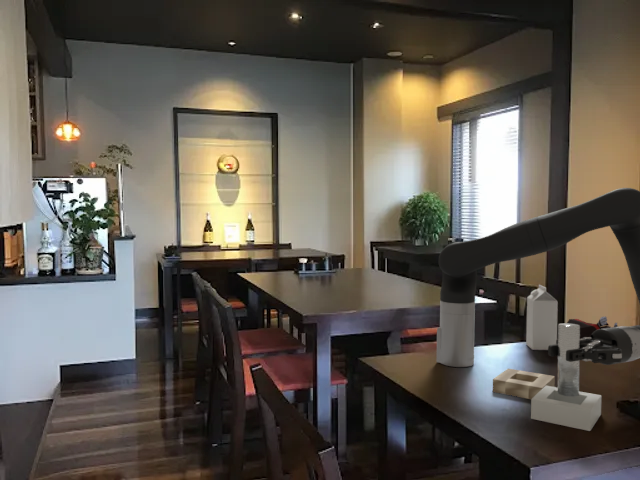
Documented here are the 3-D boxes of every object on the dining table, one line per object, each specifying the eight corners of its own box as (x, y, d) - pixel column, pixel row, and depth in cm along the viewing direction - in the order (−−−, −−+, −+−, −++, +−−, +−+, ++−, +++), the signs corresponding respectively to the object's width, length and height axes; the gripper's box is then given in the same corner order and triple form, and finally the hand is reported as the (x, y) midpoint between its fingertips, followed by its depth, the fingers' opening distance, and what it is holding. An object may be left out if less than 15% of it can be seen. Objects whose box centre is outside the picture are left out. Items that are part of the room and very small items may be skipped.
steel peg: (555, 394, 115) (556, 325, 114) (560, 389, 118) (561, 322, 118) (576, 397, 113) (577, 328, 112) (580, 392, 116) (581, 324, 115)
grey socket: (530, 418, 115) (531, 399, 114) (545, 403, 124) (545, 385, 123) (590, 431, 108) (590, 410, 108) (600, 414, 117) (601, 395, 117)
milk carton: (549, 345, 177) (550, 284, 176) (556, 350, 170) (558, 287, 169) (526, 344, 178) (527, 284, 177) (532, 350, 171) (533, 287, 169)
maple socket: (492, 391, 131) (492, 379, 131) (507, 380, 140) (508, 368, 140) (541, 401, 125) (542, 388, 125) (554, 388, 134) (554, 376, 134)
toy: (616, 307, 172) (562, 308, 177) (620, 332, 165) (563, 332, 171) (615, 332, 179) (564, 332, 185) (619, 357, 172) (565, 356, 178)
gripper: (590, 321, 127) (532, 328, 120) (649, 333, 114) (588, 342, 107) (589, 354, 128) (531, 363, 121) (648, 370, 115) (587, 381, 108)
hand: (558, 353), depth 114 cm, fingers closed on steel peg, 4 cm apart
